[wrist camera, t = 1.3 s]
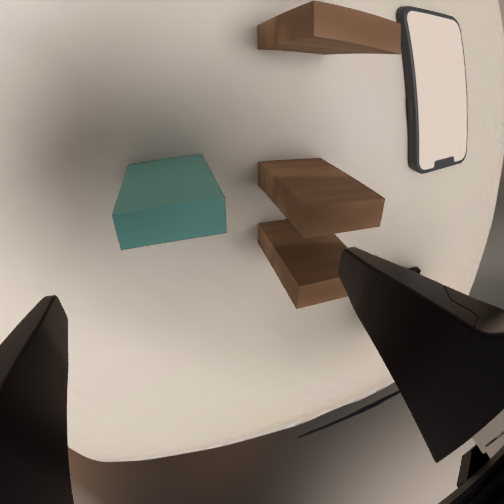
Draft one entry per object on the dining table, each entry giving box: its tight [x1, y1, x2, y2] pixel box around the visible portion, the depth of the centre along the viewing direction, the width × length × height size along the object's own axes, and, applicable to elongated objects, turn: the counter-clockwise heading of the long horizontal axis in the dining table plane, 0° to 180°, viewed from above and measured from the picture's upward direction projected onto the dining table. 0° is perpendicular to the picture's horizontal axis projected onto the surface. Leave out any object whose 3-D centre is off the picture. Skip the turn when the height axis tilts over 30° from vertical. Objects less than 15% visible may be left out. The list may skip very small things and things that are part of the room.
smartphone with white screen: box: [396, 6, 468, 174], centre depth 21 cm, size 9×2×16 cm
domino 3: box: [258, 158, 385, 238], centre depth 19 cm, size 2×5×8 cm, turn 90°
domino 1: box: [112, 154, 227, 250], centre depth 16 cm, size 2×5×8 cm, turn 90°
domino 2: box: [258, 1, 401, 55], centre depth 13 cm, size 2×5×8 cm, turn 90°
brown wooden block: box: [258, 219, 348, 309], centre depth 22 cm, size 2×5×8 cm, turn 91°
